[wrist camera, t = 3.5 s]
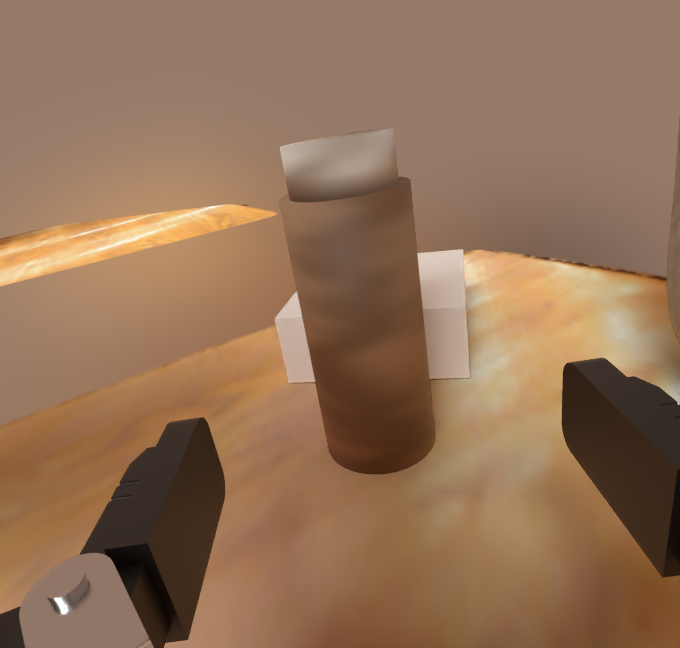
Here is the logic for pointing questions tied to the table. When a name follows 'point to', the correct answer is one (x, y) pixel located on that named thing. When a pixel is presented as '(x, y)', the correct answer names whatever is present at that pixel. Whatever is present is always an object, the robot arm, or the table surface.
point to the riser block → (438, 310)
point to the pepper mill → (360, 297)
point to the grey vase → (674, 253)
